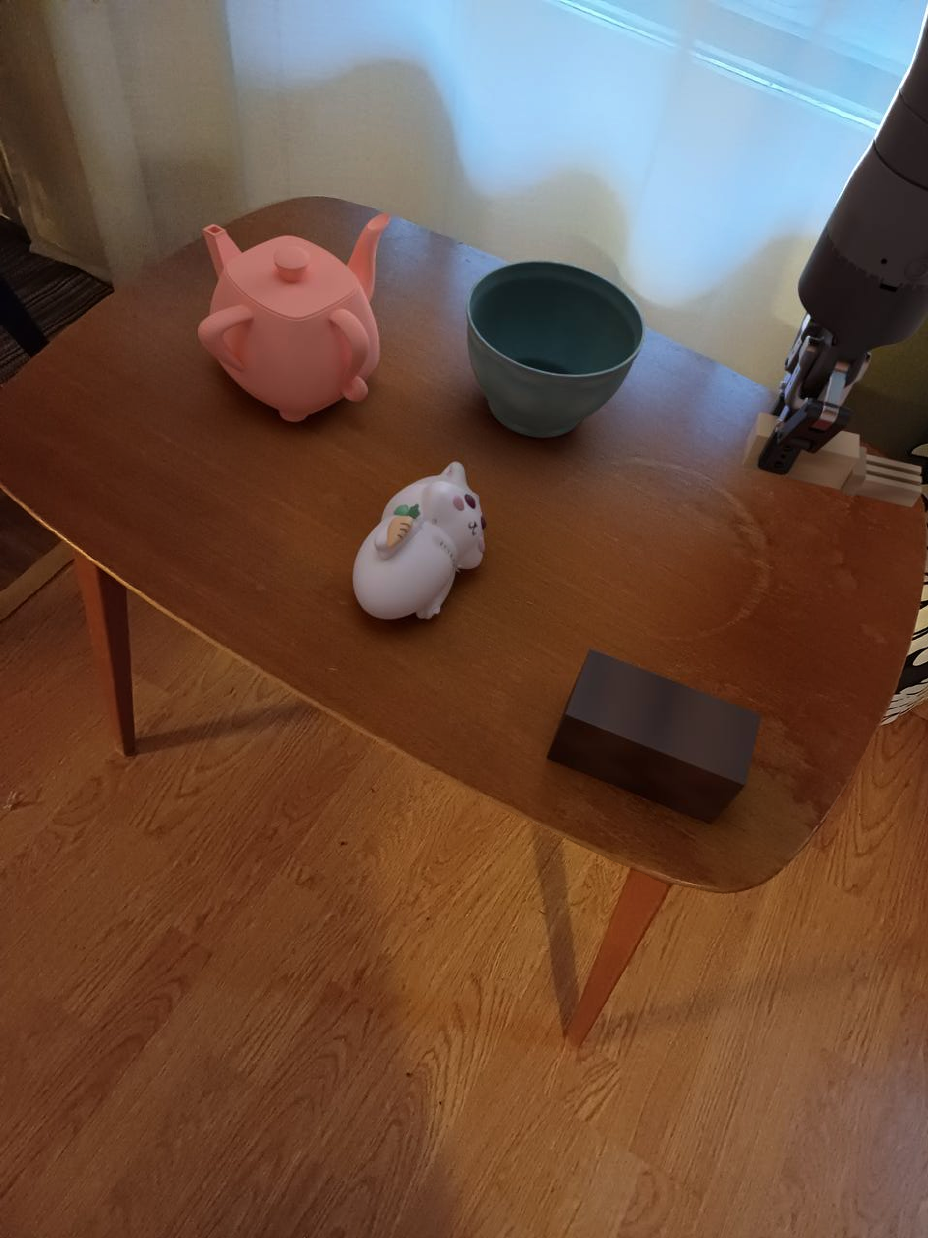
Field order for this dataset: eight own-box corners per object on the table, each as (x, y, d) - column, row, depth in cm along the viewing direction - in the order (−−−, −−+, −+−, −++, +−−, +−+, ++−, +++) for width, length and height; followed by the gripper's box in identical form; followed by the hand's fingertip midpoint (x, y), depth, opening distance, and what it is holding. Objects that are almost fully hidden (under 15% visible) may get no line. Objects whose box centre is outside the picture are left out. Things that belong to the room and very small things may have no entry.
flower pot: (478, 333, 96) (493, 240, 87) (628, 376, 95) (659, 286, 86) (433, 436, 87) (444, 344, 78) (598, 485, 86) (628, 397, 77)
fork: (741, 470, 66) (756, 437, 63) (745, 441, 68) (759, 408, 65) (911, 510, 65) (934, 478, 62) (911, 480, 66) (932, 448, 64)
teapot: (214, 318, 93) (199, 193, 82) (383, 323, 96) (390, 202, 85) (207, 434, 84) (189, 311, 73) (393, 436, 87) (403, 318, 76)
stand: (727, 757, 72) (761, 714, 66) (711, 824, 68) (745, 785, 62) (569, 694, 73) (589, 647, 67) (546, 757, 70) (565, 713, 64)
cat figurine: (377, 572, 66) (479, 433, 72) (302, 560, 71) (404, 430, 77) (433, 655, 72) (523, 520, 79) (361, 639, 77) (451, 512, 84)
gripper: (833, 157, 56) (730, 378, 70) (824, 292, 48) (710, 510, 62) (956, 189, 55) (827, 405, 70) (967, 331, 48) (819, 541, 62)
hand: (772, 453), depth 66 cm, fingers closed on fork, 2 cm apart
